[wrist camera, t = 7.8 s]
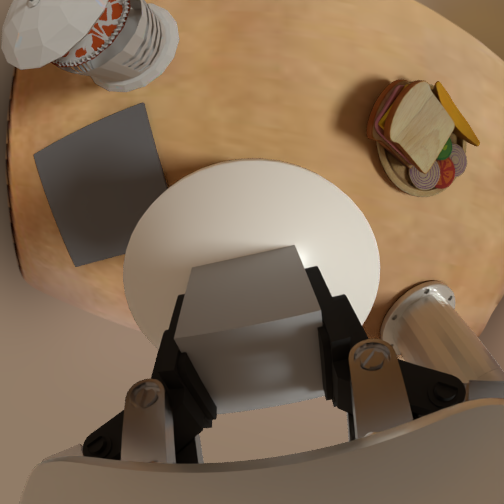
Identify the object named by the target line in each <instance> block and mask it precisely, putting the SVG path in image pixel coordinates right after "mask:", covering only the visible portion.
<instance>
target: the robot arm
mask: <svg viewBox="0 0 504 504" xmlns="http://www.w3.org/2000/svg"><path fill="white" fill-rule="evenodd" d="M305 271H306V273H307V276H308V278H309V281H310V283H311V286H312V288H313V291H314V293H315V296H316V298H317V301H318V304H319V306H320V309H321V314H322V324H323V326H321V327H317V328H318V338H319V347H320V358H321V369H322V380H323V390H324V394H325V397H326V400H330V399H332V402H333V405H334V407H336V406H337V407H338V408H339V409H341V410H343V411H346V412H347V422H348V437H349V442H345V443H342V444H338V445H334V446H330V447H326V448H321V449H317V450H312V451H307V452H302V453H297V454H291V455H285V456H279V457H273V458H265V459H257V460H248V461H237V462H224V463H203V456H202V449H201V443H200V436H199V433H200V432H201V431H202V430H203V428H211V427H212V420H213V419H216V416H217V406H216V405H215V403H214V401H213V400H212V398H211V396H210V394H209V393H208V391H207V389H206V388H205V386H204V384H203V382H202V380H201V379H200V377H199V375H198V373H197V371H196V370H195V368H194V366H193V364H192V362H191V360H190V358H189V356H188V355H187V353H186V352H183V353H181V351H180V349H179V347H178V345H177V344H176V342H175V340H174V336H175V332H176V328H177V324H178V319H179V315H180V311H181V307H182V304H183V300H184V296H185V294H181V295H178V297H177V300H176V304H175V307H174V311H173V314H172V318H171V322H170V325H169V329H168V330H165V331H164V333H163V336H162V340H161V343H160V347H159V351H158V354H157V358H156V362H155V366H154V369H153V373H152V377H151V379H144V380H142V381H139V382H137V383H135V384H134V385H133V386H132V387H131V388H130V389H129V391H128V392H127V395H126V399H125V408H124V410H123V411H122V412H121V413H119V414H118V415H116V416H115V417H114V418H112V419H111V420H109V421H108V422H107V423H105V424H104V425H103V426H101V427H100V428H99V429H97V430H96V431H94V432H93V433H91V434H90V435H89V436H88V437H87V438H86V440H85V442H84V444H83V446H82V445H81V444H78V445H76V446H74V447H71V448H69V449H66V450H64V451H62V452H59V453H57V454H54V455H52V456H49V457H47V458H45V459H44V460H43V461H42V462H41V463H39V464H38V465H36V466H35V467H34V468H33V470H32V471H31V473H30V475H29V477H28V479H27V481H26V484H25V486H24V489H23V492H22V495H21V498H20V502H19V504H504V372H503V371H502V369H501V368H500V366H499V365H498V363H497V362H496V361H495V359H494V358H493V357H492V356H491V354H490V353H489V351H488V350H487V349H486V347H485V346H484V345H483V344H482V342H481V341H480V340H479V338H478V337H477V336H476V335H475V333H474V332H473V331H472V330H471V329H470V327H469V326H468V325H467V324H466V323H465V321H464V320H463V319H462V318H461V317H460V315H459V314H458V313H457V312H456V311H455V310H454V309H455V296H454V293H453V291H452V290H451V289H450V288H449V287H448V286H447V285H446V284H444V283H442V282H439V281H429V282H425V283H422V284H420V285H418V286H415V287H414V288H412V289H410V290H409V291H407V292H406V293H405V294H404V295H402V296H401V297H400V298H399V299H398V300H397V301H396V302H395V303H394V304H393V306H392V307H391V308H390V310H389V311H388V313H387V315H386V316H385V318H384V321H383V323H382V326H381V331H380V332H381V340H380V339H368V337H367V335H366V333H365V331H364V329H363V327H362V325H361V323H360V321H359V319H358V317H357V315H356V313H355V311H354V310H353V308H352V306H351V304H350V302H349V300H348V298H347V296H346V295H345V294H342V295H338V296H334V297H332V295H331V293H330V291H329V289H328V287H327V285H326V283H325V280H324V278H323V276H322V274H321V272H320V270H319V268H318V266H314V267H309V268H305ZM396 354H398V355H402V356H403V358H404V360H405V361H403V360H399V359H397V356H396Z"/></svg>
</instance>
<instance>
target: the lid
mask: <svg viewBox="0 0 504 504" xmlns="http://www.w3.org/2000/svg"><path fill="white" fill-rule="evenodd" d="M314 266H318V268H319V270H320V272H321V274H322V276H323V278H324V280H325V283H326V285H327V287H328V289H329V291H330V293H331V295H332V297H334V296H338V295H342V294H345V295H346V296H347V298H348V300H349V302H350V304H351V306H352V308H353V310H354V311H355V313H356V315H357V317H358V319H359V321H360V323H361V325H363V323H364V322H365V320H366V318H367V316H368V314H369V313H370V311H371V308H372V306H373V303H374V301H375V298H376V294H377V290H378V286H379V278H380V259H379V252H378V247H377V243H376V239H375V237H374V234H373V232H372V229H371V227H370V225H369V223H368V221H367V220H366V218H365V216H364V215H363V213H362V212H361V210H360V209H359V208H358V207H357V206H356V204H355V203H354V202H353V201H352V200H351V199H350V198H349V197H348V196H347V195H346V194H345V193H343V192H342V191H341V190H340V189H339V188H338V187H336V186H335V185H334V184H332V183H331V182H330V181H328V180H326V179H325V178H323V177H322V176H320V175H318V174H317V173H315V172H313V171H310V170H308V169H306V168H303V167H301V166H299V165H295V164H291V163H288V162H284V161H280V160H272V159H263V158H247V159H235V160H229V161H224V162H219V163H216V164H213V165H210V166H207V167H204V168H201V169H199V170H197V171H195V172H193V173H191V174H189V175H187V176H185V177H183V178H182V179H180V180H179V181H177V182H176V183H174V184H173V185H172V186H170V187H169V188H168V189H167V190H166V191H165V192H163V193H162V194H161V195H160V196H159V197H158V198H157V199H156V200H155V201H154V202H153V203H152V204H151V206H150V207H149V208H148V209H147V211H146V212H145V213H144V215H143V216H142V217H141V219H140V220H139V222H138V224H137V225H136V227H135V229H134V231H133V233H132V235H131V238H130V240H129V243H128V246H127V249H126V254H125V259H124V265H123V282H124V289H125V295H126V299H127V302H128V306H129V309H130V311H131V313H132V315H133V317H134V320H135V321H136V323H137V325H138V326H139V328H140V329H141V331H142V332H143V334H144V335H145V336H146V337H147V338H148V340H149V341H150V342H151V343H152V344H153V345H154V346H155V347H156V348H157V349H158V350H159V347H160V343H161V340H162V336H163V333H164V331H165V330H168V329H169V325H170V322H171V318H172V314H173V311H174V307H175V304H176V300H177V297H178V295H181V294H185V296H184V300H183V304H182V307H181V311H180V315H179V319H178V324H177V328H176V332H175V336H174V340H175V342H176V344H177V345H178V347H179V349H180V351H181V353H183V352H186V353H187V355H188V356H189V358H190V360H191V362H192V364H193V366H194V368H195V370H196V371H197V373H198V375H199V377H200V379H201V380H202V382H203V384H204V386H205V388H206V389H207V391H208V393H209V394H210V396H211V398H212V400H213V401H214V403H215V405H216V406H217V414H225V413H233V412H241V411H248V410H255V409H261V408H268V407H274V406H279V405H285V404H290V403H294V402H300V401H304V400H309V399H313V398H317V397H322V396H325V394H324V390H323V380H322V369H321V358H320V347H319V338H318V328H317V327H321V326H323V324H322V314H321V309H320V306H319V304H318V301H317V298H316V296H315V293H314V291H313V288H312V286H311V283H310V281H309V278H308V276H307V273H306V271H305V268H309V267H314Z"/></svg>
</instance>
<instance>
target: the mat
mask: <svg viewBox="0 0 504 504" xmlns="http://www.w3.org/2000/svg"><path fill="white" fill-rule="evenodd" d="M34 159H35V162H36V165H37V169H38V172H39V175H40V179H41V182H42V185H43V188H44V191H45V194H46V197H47V199H48V202H49V205H50V208H51V210H52V213H53V216H54V218H55V221H56V223H57V226H58V228H59V231H60V233H61V236H62V238H63V240H64V243H65V245H66V247H67V250H68V252H69V254H70V256H71V258H72V261H73V263H74V265H75V267H77V266H81V265H85V264H88V263H92V262H96V261H100V260H103V259H107V258H111V257H115V256H119V255H123V254H126V249H127V246H128V243H129V240H130V238H131V235H132V233H133V231H134V229H135V227H136V225H137V224H138V222H139V220H140V219H141V217H142V216H143V215H144V213H145V212H146V211H147V209H148V208H149V207H150V206H151V204H152V203H153V202H154V201H155V200H156V199H157V198H158V197H159V196H160V195H161V194H162V193H163V192H165V191H166V190H167V189H168V187H167V183H166V180H165V177H164V173H163V170H162V167H161V163H160V160H159V156H158V153H157V149H156V146H155V142H154V138H153V135H152V131H151V127H150V124H149V120H148V116H147V112H146V108H145V104H144V103H140V104H137V105H135V106H132V107H130V108H127V109H125V110H122V111H120V112H117V113H115V114H113V115H110V116H108V117H106V118H103V119H101V120H99V121H97V122H94V123H92V124H90V125H88V126H86V127H84V128H82V129H80V130H78V131H76V132H74V133H72V134H70V135H68V136H66V137H64V138H62V139H60V140H58V141H57V142H55V143H53V144H51V145H49V146H48V147H46V148H44V149H42V150H41V151H39V152H37V153H36V154H34Z"/></svg>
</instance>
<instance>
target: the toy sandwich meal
mask: <svg viewBox="0 0 504 504" xmlns="http://www.w3.org/2000/svg"><path fill="white" fill-rule="evenodd" d="M367 137H368V138H369V139H372V140H376V142H377V149H378V154H379V158H380V161H381V163H382V166H383V168H384V170H385V172H386V174H387V175H388V177H389V178H390V180H391V181H392V182H393V183H394V184H395V185H396V186H397V187H398V188H399V189H401V190H402V191H404V192H406V193H408V194H410V195H413V196H417V197H429V196H433V195H436V194H438V193H440V192H442V191H444V190H445V189H446V188H448V187H449V186H450V185H451V184H452V183H453V181H454V180H455V179H456V177H459V176H460V175H462V174H463V173H464V171H465V169H466V166H467V157H466V142H468V143H470V144H472V145H474V146H479V144H480V142H479V140H478V138H477V137H476V135H475V133H474V132H473V130H472V129H471V127H470V125H469V124H468V122H467V121H466V119H465V118H464V117H463V116H462V114H461V113H460V111H459V110H458V109H457V107H456V105H455V104H454V102H453V101H452V99H451V97H450V96H449V94H448V93H447V91H446V90H445V88H444V87H443V86H442V84H441V83H440V82H439V81H437V82H436V83H435V85H434V86H433V85H431V84H429V83H428V82H426V81H420V80H418V81H414V82H412V83H409V82H408V81H407V80H396V81H394V82H392V83H391V84H390V85H388V86H387V87H386V88H385V89H384V91H383V92H382V93H381V94H380V96H379V97H378V99H377V101H376V102H375V104H374V106H373V109H372V111H371V114H370V117H369V120H368V124H367Z"/></svg>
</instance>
